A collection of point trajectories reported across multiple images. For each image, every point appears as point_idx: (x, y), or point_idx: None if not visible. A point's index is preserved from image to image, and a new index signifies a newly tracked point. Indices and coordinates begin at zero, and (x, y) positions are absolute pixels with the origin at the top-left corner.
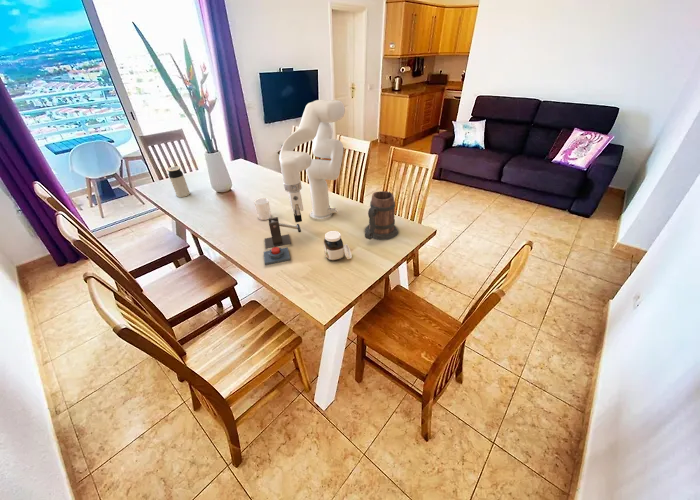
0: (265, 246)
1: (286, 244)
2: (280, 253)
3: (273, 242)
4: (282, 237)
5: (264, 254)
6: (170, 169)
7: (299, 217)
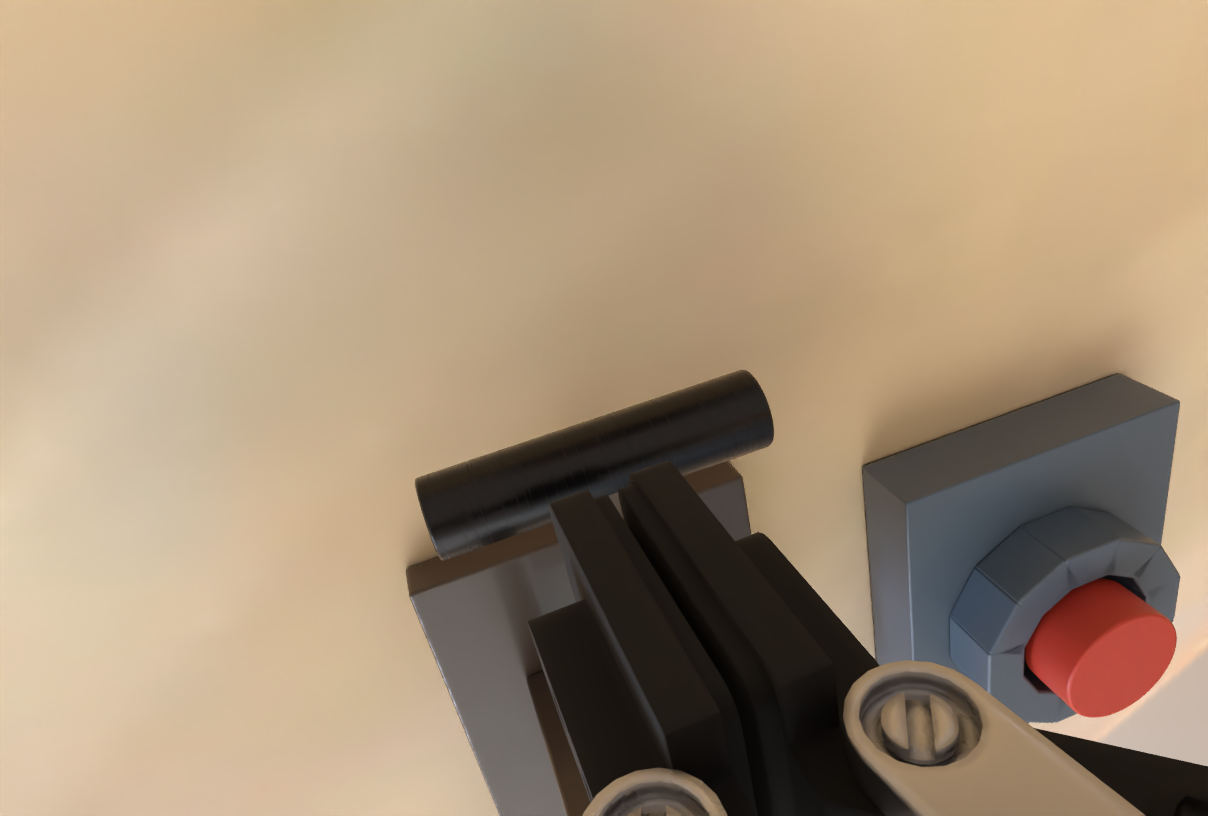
0: None
1: None
2: (1150, 563)
3: None
4: (523, 663)
5: None
6: None
7: (831, 626)
